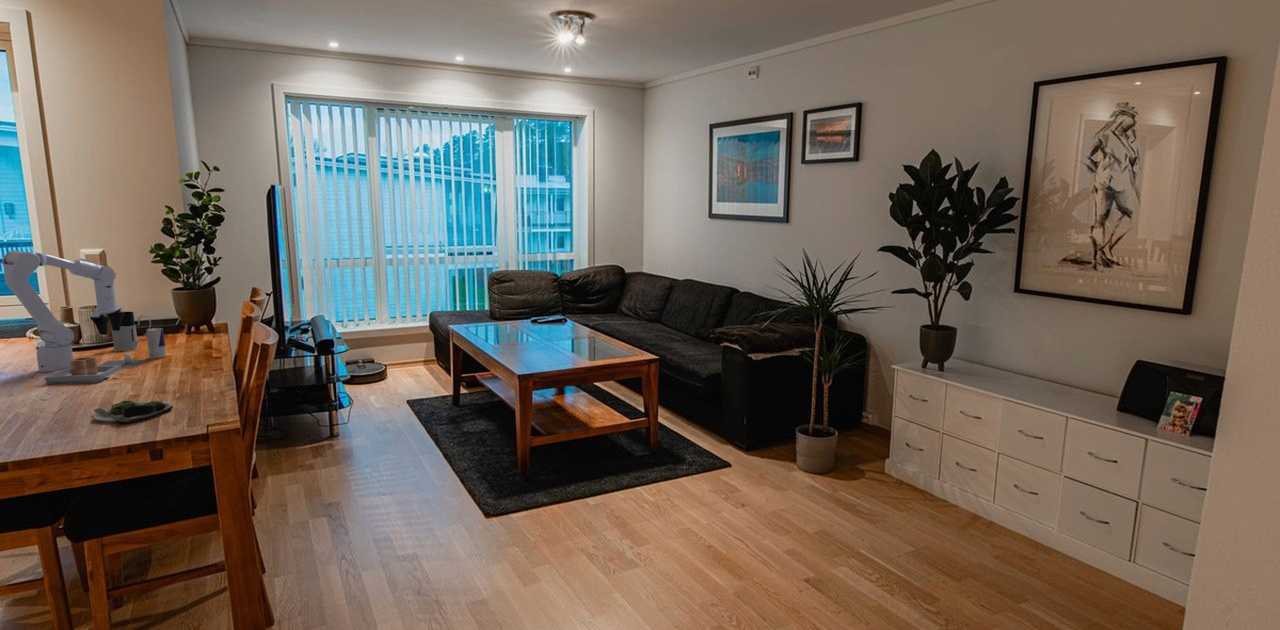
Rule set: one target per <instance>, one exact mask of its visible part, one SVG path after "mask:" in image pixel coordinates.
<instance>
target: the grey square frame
mask: <svg viewBox="0 0 1280 630" xmlns="http://www.w3.org/2000/svg"><path fill="white" fill-rule="evenodd" d="M97 370H98V372H101V373H98V374H96V375H75V376H72V375H68V374H71V367H68V368H63V369H62V370H60V371H57V372H55V373H52V374H50V375H47V376H45V377H44V379H45V385H46V384H49V385H68V384H69V383H73V384H90V383H91V384H92V383H95V382H98V383H103V382H105V381H107V380H109V379H111V378H110V377H111V375H113V374H115V373H118V372H119V371H122V370H123V369H122V367H121V365H113V366H98V365H97ZM108 378H109V379H108ZM104 380H105V381H104ZM69 385H70V384H69Z"/></svg>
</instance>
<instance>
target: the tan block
mask: <svg viewBox="0 0 1280 630" xmlns="http://www.w3.org/2000/svg"><path fill="white" fill-rule="evenodd" d="M97 364H98V363H97V357H95V356H94V357H93V356H91V357H90V356H89V357H88V356H86V357H85V356H81V357H77V358H75V359H74V358H73V360H70V367H71V373H70V375H71V376H75V375H98V374H99V371H98V370H97V366H98V365H97Z"/></svg>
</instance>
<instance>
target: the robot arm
mask: <svg viewBox="0 0 1280 630" xmlns="http://www.w3.org/2000/svg"><path fill="white" fill-rule="evenodd" d="M1 264H2V266H3V271H4V281H5V284H6V285H7V286H8V288H9V289H10V290H11V292H13V294H14V296H16V298H17V299H18V301H19V302H20V303H21V304H22V306H23V307H24V309H25V310H26V311H27V312H28V313H29V315H30V316H31V318H32V319H33V320H34V322H35V323H36V324H37V327H36V329H37V331H38V332H39V338H40V340H41V341H42V342H44V345H40V346H39V347H38V348H37V350H36V359H37V360H36V361H37V366H38V367H37V368H38V370H37V373H42V372H43V373H46V372H55V371H57V370H59V369H62V370H63V369H66V368H69V367H70V360H73V359H74V356H73V347H72V342H73V341H74V339H75V333H74V331H73V330H72V329H70V328H68V327H66V325H65V324H64V323H63V322H62V321H60V320H59V319H57V318H56V316H54V314H53V313H52V311H51V310H50V309H49V307H48V306H47V305H46V303H45V302H44V301H43V300H42V298H41V297H40V295H39V294H38V293H37V291H36V290H35V289H34V287H33V286H32V285H31V283H30V281H29V279H30V277H31V275H32V274H33V273H34V272H35V271H36V270H37V269H38V268H39V267H44V266H50V267H55V268H60V269H65V270H68V271H69V272H70V273H71V275H75V276H79V277H84V278H87V279H90V280H93V281H94V282H93V283H94V290H95V300H96V306H97V308H95V309H94V311H91V316H90V320H91V322H93V324H94V326H96V329H97V331H98V332H99V335H100V336H101V335H103V336H105V335H108V333H109V332H108V326H109V321H110V325H111V326H112V327H111V330H112V329H113V331H119V330H120V326H121V321H122V318H123V316H124V314H125V312H126V311H123V305H117V300H116V293H115V286H114V281H115V279H116V278H117V273H116V272H115V269H113V268H112V267H111V266H106V265H100V264H101V263H98V262H95V263H93V262H90V261H88V260H87V259H85V258H79V259H74V260H68V259H64V258H61V257H57V256H55V255H51V254H46V253H42V252H41V253H40V252H34V251H21V250H11V251H10V250H9V251H8V252H6V254H5V255H4V257H3V259H2V261H1ZM106 315H107V316H106Z"/></svg>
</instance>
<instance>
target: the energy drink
mask: <svg viewBox="0 0 1280 630" xmlns="http://www.w3.org/2000/svg"><path fill="white" fill-rule="evenodd" d="M145 334H147V335H146V340H147V348H148V350H147V351H148V357H149V358H148V359H151V360H159V359H164V358H166V357H167V352H166V343H165V334H164V329H163V327H152V328H150V329H149V328H147V329H146V333H145Z"/></svg>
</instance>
